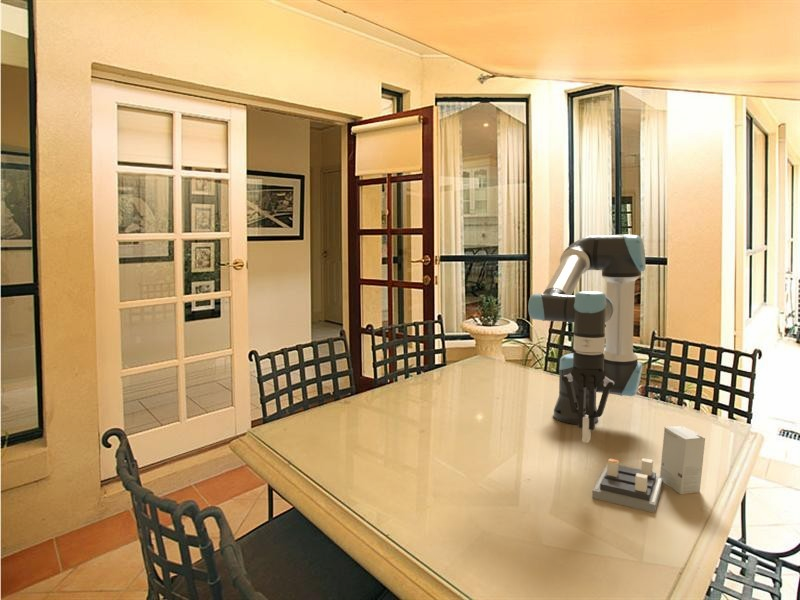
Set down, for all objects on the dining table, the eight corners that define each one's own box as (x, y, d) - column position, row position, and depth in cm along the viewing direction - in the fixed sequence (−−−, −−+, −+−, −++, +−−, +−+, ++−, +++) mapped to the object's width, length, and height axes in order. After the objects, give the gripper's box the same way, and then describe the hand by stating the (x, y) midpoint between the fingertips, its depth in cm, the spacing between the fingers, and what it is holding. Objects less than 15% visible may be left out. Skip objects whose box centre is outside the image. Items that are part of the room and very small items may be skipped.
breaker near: (634, 490, 125) (635, 476, 125) (636, 486, 127) (636, 472, 126) (645, 492, 124) (646, 478, 123) (647, 488, 125) (647, 475, 125)
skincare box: (659, 480, 137) (661, 426, 136) (679, 478, 138) (681, 424, 137) (681, 495, 129) (684, 438, 127) (703, 493, 130) (706, 436, 128)
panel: (592, 498, 129) (592, 484, 128) (605, 472, 142) (606, 460, 142) (654, 513, 121) (655, 498, 121) (662, 485, 135) (663, 472, 134)
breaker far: (641, 473, 133) (641, 460, 133) (642, 470, 135) (642, 457, 135) (651, 475, 132) (651, 462, 132) (652, 472, 134) (652, 459, 133)
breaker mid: (606, 474, 133) (607, 460, 133) (608, 471, 135) (608, 457, 134) (616, 477, 132) (617, 462, 131) (618, 474, 133) (618, 459, 133)
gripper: (559, 351, 133) (557, 440, 136) (612, 357, 126) (609, 450, 129) (566, 346, 140) (564, 431, 142) (618, 351, 133) (615, 440, 135)
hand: (586, 440), depth 136 cm, fingers closed
